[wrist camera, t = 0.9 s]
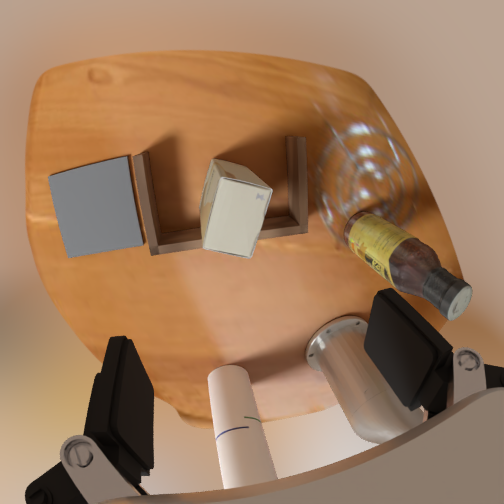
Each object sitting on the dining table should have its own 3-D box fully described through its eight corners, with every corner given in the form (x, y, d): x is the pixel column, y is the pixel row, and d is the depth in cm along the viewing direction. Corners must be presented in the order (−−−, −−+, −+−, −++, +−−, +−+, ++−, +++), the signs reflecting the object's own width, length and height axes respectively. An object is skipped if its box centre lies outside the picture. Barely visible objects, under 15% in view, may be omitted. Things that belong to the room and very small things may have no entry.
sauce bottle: (334, 242, 39) (426, 327, 21) (354, 202, 37) (462, 266, 19) (366, 256, 41) (454, 334, 23) (385, 220, 39) (485, 283, 21)
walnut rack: (293, 136, 32) (305, 137, 28) (296, 222, 36) (307, 232, 33) (140, 153, 29) (132, 156, 26) (155, 242, 34) (151, 255, 30)
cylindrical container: (207, 365, 44) (230, 509, 21) (250, 363, 45) (291, 500, 23) (207, 391, 46) (228, 519, 24) (246, 389, 48) (280, 512, 26)
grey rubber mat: (127, 156, 29) (126, 156, 29) (143, 244, 34) (143, 245, 33) (49, 176, 27) (48, 176, 27) (69, 256, 32) (68, 258, 32)
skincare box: (211, 157, 31) (220, 171, 20) (247, 166, 32) (275, 185, 21) (197, 209, 33) (200, 250, 22) (232, 217, 34) (252, 260, 24)
